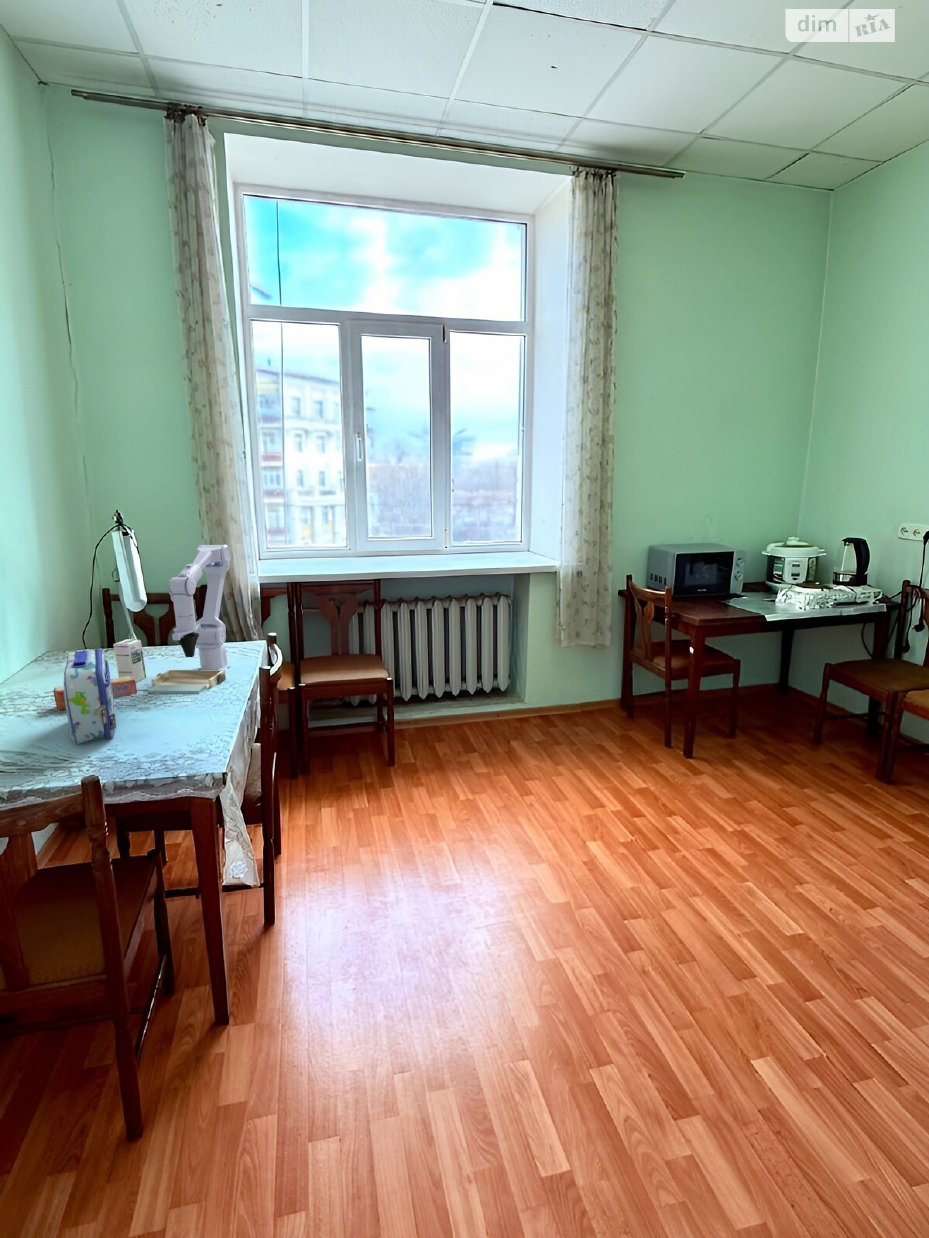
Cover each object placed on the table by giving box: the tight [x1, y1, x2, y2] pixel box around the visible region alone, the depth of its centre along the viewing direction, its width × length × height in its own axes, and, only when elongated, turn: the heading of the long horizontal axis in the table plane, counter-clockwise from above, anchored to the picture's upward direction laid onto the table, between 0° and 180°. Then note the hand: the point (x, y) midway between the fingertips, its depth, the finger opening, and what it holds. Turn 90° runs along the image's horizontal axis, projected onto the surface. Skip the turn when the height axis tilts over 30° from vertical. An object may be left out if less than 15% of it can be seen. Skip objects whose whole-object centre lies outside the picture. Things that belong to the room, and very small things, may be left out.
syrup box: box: [113, 638, 147, 684], centre depth 207 cm, size 6×6×14 cm
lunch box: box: [63, 647, 117, 744], centre depth 170 cm, size 26×11×21 cm, turn 29°
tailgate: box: [147, 685, 208, 695], centre depth 198 cm, size 1×16×5 cm
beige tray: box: [151, 669, 227, 689], centre depth 205 cm, size 10×21×4 cm, turn 86°
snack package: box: [53, 676, 138, 711], centre depth 193 cm, size 21×7×7 cm, turn 123°
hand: (190, 656), depth 205 cm, fingers closed
